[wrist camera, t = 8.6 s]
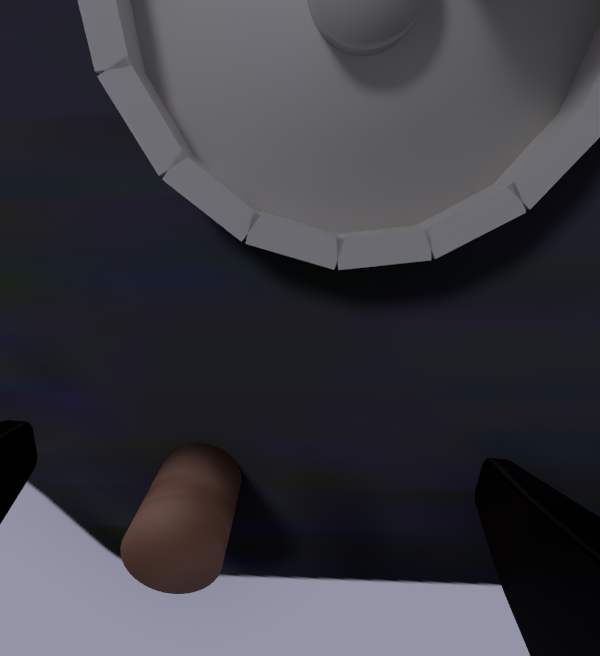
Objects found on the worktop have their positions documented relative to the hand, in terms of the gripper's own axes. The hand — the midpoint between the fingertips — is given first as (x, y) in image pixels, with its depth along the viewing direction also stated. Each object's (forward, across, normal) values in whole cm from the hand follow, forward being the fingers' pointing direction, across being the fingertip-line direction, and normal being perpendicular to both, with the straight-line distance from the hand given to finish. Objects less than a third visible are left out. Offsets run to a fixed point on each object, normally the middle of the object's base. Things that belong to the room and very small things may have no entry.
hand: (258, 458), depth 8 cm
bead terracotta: (+11, +4, +10) cm, 16 cm away
